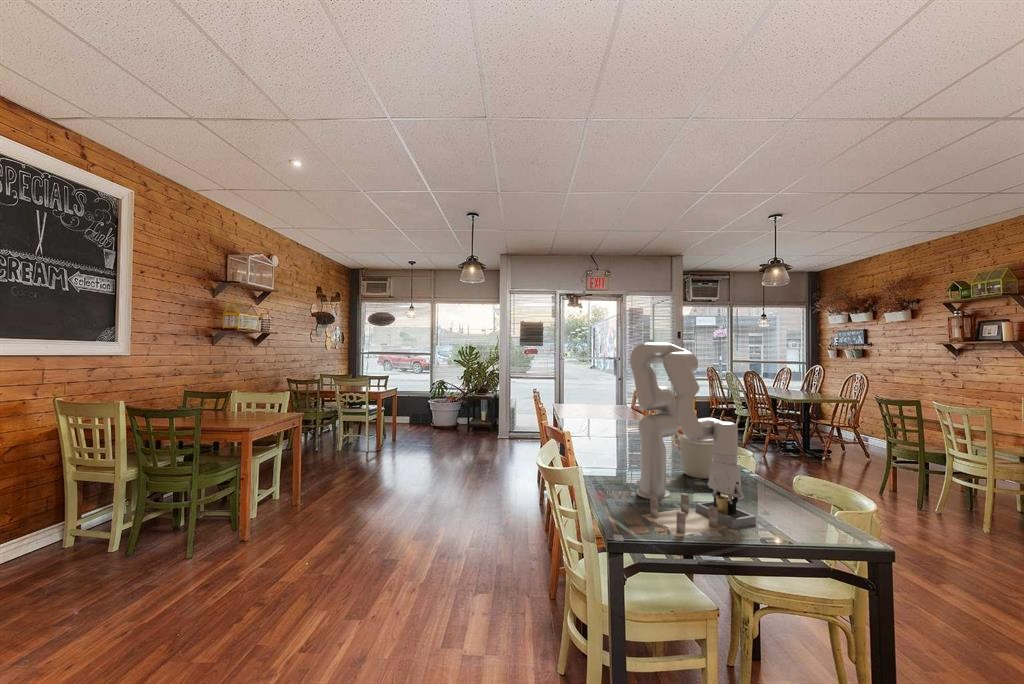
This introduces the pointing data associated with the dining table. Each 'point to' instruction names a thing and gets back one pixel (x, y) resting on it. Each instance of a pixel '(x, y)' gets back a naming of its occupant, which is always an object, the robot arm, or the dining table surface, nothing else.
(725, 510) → the tan faceted piece
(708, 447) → the canister
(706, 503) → the tray
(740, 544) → the dining table surface
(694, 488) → the dining table surface
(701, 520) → the spacer board
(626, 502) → the dining table surface
